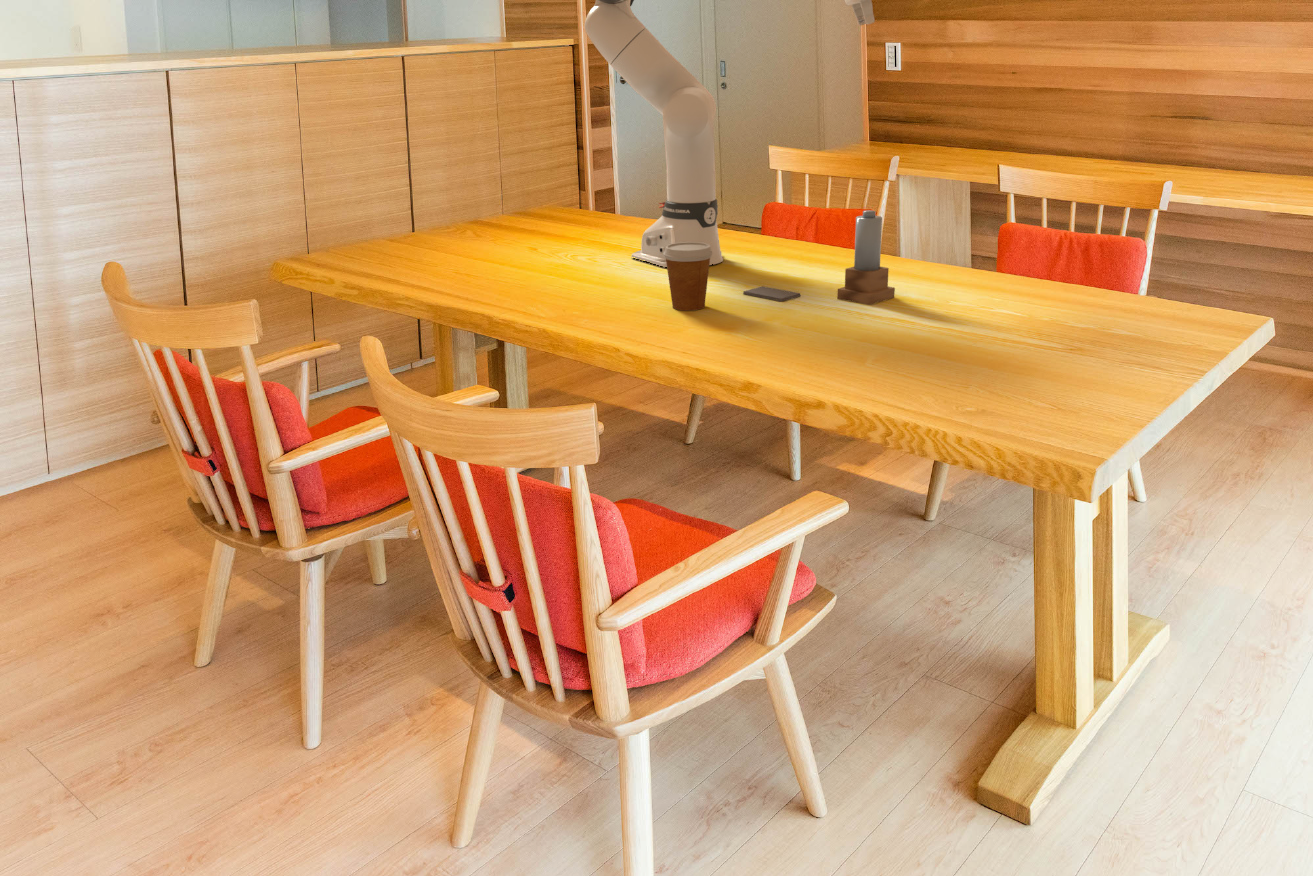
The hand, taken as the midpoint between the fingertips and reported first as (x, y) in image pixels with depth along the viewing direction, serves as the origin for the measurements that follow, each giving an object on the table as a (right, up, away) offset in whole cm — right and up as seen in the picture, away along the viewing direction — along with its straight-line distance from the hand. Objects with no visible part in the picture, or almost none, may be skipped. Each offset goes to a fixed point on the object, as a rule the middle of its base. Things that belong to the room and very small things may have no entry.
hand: (866, 24), depth 240 cm
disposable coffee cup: (-38, -62, -17) cm, 75 cm away
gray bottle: (-3, -54, -16) cm, 56 cm away
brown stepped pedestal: (-3, -59, -13) cm, 61 cm away
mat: (-21, -58, -9) cm, 63 cm away
